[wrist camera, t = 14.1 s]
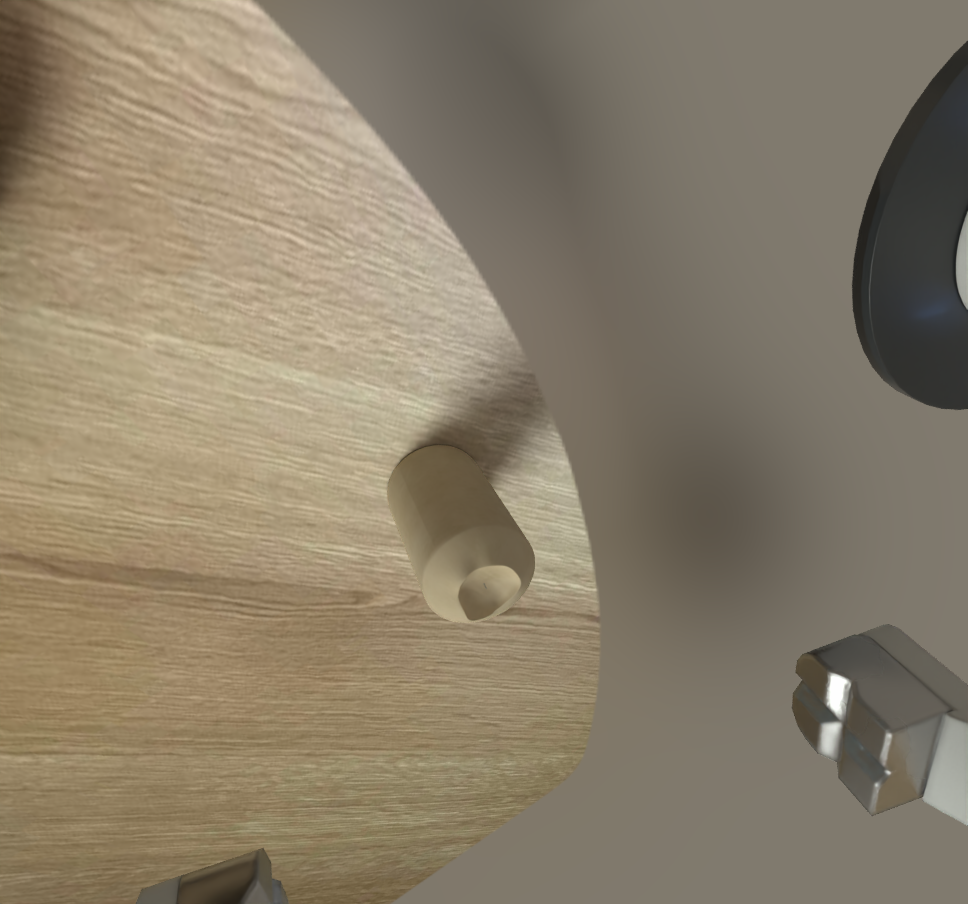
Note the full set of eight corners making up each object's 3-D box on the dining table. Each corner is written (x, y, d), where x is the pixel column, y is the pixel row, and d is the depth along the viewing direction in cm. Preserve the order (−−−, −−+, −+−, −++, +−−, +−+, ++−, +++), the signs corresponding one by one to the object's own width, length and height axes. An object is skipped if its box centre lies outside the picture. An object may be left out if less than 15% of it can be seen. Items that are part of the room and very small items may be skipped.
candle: (439, 543, 42) (493, 659, 34) (365, 501, 39) (405, 616, 31) (499, 473, 41) (570, 575, 33) (428, 425, 38) (486, 522, 30)
